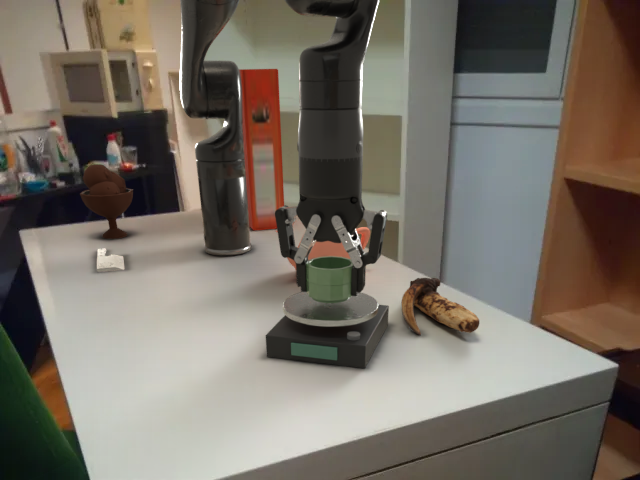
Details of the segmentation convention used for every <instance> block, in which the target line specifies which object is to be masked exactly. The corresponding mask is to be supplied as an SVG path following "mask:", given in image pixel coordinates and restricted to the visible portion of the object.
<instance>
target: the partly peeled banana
mask: <svg viewBox="0 0 640 480" xmlns="http://www.w3.org/2000/svg"><path fill="white" fill-rule="evenodd" d="M440 286H441V279H439V278H437V277H431V278H429V277H417V278H415V279H414V280H410V282H409V287H408V288H407V289H406V291H405V292H404V293H403V294H402V297H401V312H402V316H403V318H404V321H405V323H406V324H407V326H408V327H409V329H410V330H411V331H413V332H414V333H415V334H416V335H418V336H421V335H422V332H421V330H420V327H419V326H418V323H417V321H416V317H415V313H414V307H415V308H417V309H419V310H420V312H422V313H424V314H425V315H426V316H429V317H431V318H432V319H433V320H435V321H437V322H438V323H440V324H442V325H445V326H446V327H448V328H451V329H454V330H457V331H459V332H462V333H469V334H470V333H473V332H475V331H476V330H478V328H479V327H480V319H479V317H478V315H476V314H475V313H474V312H473V311H471V310H470V309H468V308H466V307H465V306H463V305H461V304H460V303H457V302H454V301H452V300H449V299H448V297H444V296H442V295H441V294H440V293H439V292H438V288H439V287H440Z"/></svg>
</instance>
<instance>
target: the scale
mask: <svg viewBox="0 0 640 480" xmlns="http://www.w3.org/2000/svg"><path fill="white" fill-rule="evenodd" d="M389 307H390V306H389V304H388V305H387V304H378V313H377V314H376V316H374V317H373V318H372V319H370V320H368V321H365V322H362V323H359V324H355V325H349V326H339V327H322V326H312V325H307V324H302V323H299V322H296V321H293V320H291V319H290V318H288V317H287V316H286V315H285V314H284V315H283V316H282V318H281V319H280V320H279V321H278V322H277V323H276V324H274V326H273V327H272V328H271V329H270V330H269V331H268V332H267V333H266V334H265V350H266V351H265V352H266V358H272V359H273V358H274V359H284V360H292V361H299V362H308V363H317V364H325V365H332V366H333V365H334V366H342V367H352V368H357V369H359V368H360V369H366V368H367V365H368V363H369V362H370V359H372V356H373V354H374V352H375V350H376V348H377V346H378V345H379V343H380V341H381V338H382V337H383V335H384V333H385V331H386V330H387V327H388V326H389V313H390V312H389V309H390V308H389Z"/></svg>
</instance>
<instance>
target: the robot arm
mask: <svg viewBox="0 0 640 480" xmlns="http://www.w3.org/2000/svg"><path fill="white" fill-rule="evenodd" d="M283 1H284V2H285V3H286V5H287V6H288V7H289V8H290V9H291V10H292V11H293V12H295V13H296V14H299V15H300V16H304V17H310V18H335V22H334V23H335V24H334V26H333V29H332V32H331V35H330V36H329V39H328V40H327V41H325V42H322V43H317V44H314V45H311V46H308V47H306V48H305V49H303V50H302V51H301V53H300V55H299V58H298V59H299V60H298V96H299V97H298V100H299V101H298V102H299V113H298V115H299V116H298V126H297V143H296V149H297V152H298V153H297V154H298V189H299V190H298V192H299V193H298V194H299V200H298V203H297V205H296V206H295V205H294V206H288V205H287V204H286V205H285V204H284V206H282V207H280V208H279V209H277V210H276V211H275V218H276V225H277V228H276V231H278V233H277V237H278V243H279V244H278V245H279V250H280V255H281V257H282V258H284V259H287V257H288V258H290V259H293V260H294V261H295V263H296V270H295V273H296V276H295V278H296V285H297V288H300V291H301V292H307V289H306V262H308V261H309V260H308V256H309V254H310V252H311V250H312V248H313V246H314V244H315V243H316V242H325V241H331V242H333V243H341V242H342V244H343V246H344V248H345V251H346V252H348V254H349V256H350V258H351V261H352V263H353V265H354V266H353V267H352V281H351V295H352V296H358V294H359V293H360V292H361V293H362V292H363V291H364V289H365V286H366V270H367V266H368V265H374V264H376V263H377V261H378V260H379V259H380V258H381V255H382V250H383V245H384V239H385V232H386V226H387V220H388V212H387V211H386V210H384V209H381V210H379V211H375V210H369V209H366V207H365V205H364V203H363V169H364V168H363V167H364V165H363V163H364V161H363V160H364V121H363V108H362V107H363V79H364V74H363V73H364V63H365V59H366V55H367V51H368V47H369V41H370V38H371V34H372V29H373V26H374V21H375V18H376V14H377V10H378V7H379V3H380V0H283ZM179 2H180V4H179V5H180V25H181V26H180V27H181V32H180V33H181V35H180V36H181V40H180V41H181V42H180V61H179V64H180V66H179V91H180V92H179V94H180V95H179V96H180V101H181V106H182V109H183V111H184V113H185V114H186V116H187V117H189V118H190V119H193V120H224V121H223V125H222V127H221V128H220V129H219V130H218V131H217V132H216V133H214V134H213V135H211V136H209V137H207V138H204V139H202V140H199V141H198V142H197V143H196V144H195V146H194V154H195V163H196V171H197V172H196V173H197V181H198V191H199V199H200V209H201V220H202V228H203V240H204V252H206V253H207V254H210V255H213V256H237V255H242V254H246V253H248V252H250V251H251V250H252V242H251V231H250V226H249V214H248V199H247V184H246V171H245V159H244V158H245V156H244V138H243V115H242V83H241V76H240V71H239V69H240V68H239V67H238V65H237V64H236V63H235V62H234V61H233V60H205V58H206V56H207V53H208V51H209V49H210V47H211V46H212V44H213V43H214V41H215V40H216V38H217V37H218V36H219V35H220V34H221V32H222V31H223V30H224V28H225V27H226V26H227V24H228V23H229V22H230V20H231V19H232V17H233V15H234V14H235V13H236V11H237V8H238V5H239V4H240V0H179ZM296 217H297V218H298V219H299V220H300V222H301V223H302V225H303V227H304V229H306V230H305V232H304V233H305V234H304V233H303V235H304V236H303V235H302V237H303V238H302V237H301V239H302V240H301V239H300V241H301V242H300V241H299V243H300V246H299V248H298V246H296V241H295V240H296V239H295V233H294V226H293V224H295V223H296ZM363 220H364V221H365V222H366V227H367V228H368V229H369V230H370V238H369V243H368V244H369V245H368V251H367V252H365V249H364V250H363V248H362V245H361V237H360V236H359V234H358V233H357V231H356V229H357V228H358V227H359V225H360V224H361V223H362V222H363ZM352 235H353V236H352ZM347 241H348V242H347ZM301 292H300V293H301Z"/></svg>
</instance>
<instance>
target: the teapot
mask: <svg viewBox="0 0 640 480" xmlns="http://www.w3.org/2000/svg"><path fill="white" fill-rule="evenodd" d="M356 231H357V233H358V235H361V237H360V240H361V245H362V248H363V250H364V251H365V248H366V247H367V245H368V244H369V242H370V238H371V230H369V229H368V227H367V226H362V227H357V228H356ZM275 232H276V233H277V234H278V231H277V230H275ZM304 234H305V232H304V233H303V234H302V237H301V238H300V241H299V243H298V245H297V247H298V248H299V246H300V242H301V240H302V238H303V236H304ZM352 236H353V235H352ZM347 242H348V241H347ZM326 256H336V257H345V258H348V259H351V258H350V256H349V254H348V252H346V251H345V248H344V246H343V244H342V242H341V243H333V242H331V241H325V242H316V243H315V244H314V246H313V248H312V250H311V252H310V254H309V256H308V260H310V259H313V258H317V257H326ZM286 259H287V261H288V263H289V264H290V265H291V266H292V267H294V270H295V271H296V263H295V261H294V260H293V259H290V258H288V257H287V258H286Z"/></svg>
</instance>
